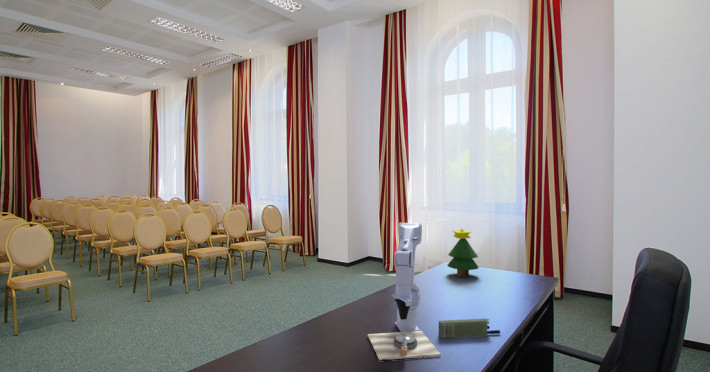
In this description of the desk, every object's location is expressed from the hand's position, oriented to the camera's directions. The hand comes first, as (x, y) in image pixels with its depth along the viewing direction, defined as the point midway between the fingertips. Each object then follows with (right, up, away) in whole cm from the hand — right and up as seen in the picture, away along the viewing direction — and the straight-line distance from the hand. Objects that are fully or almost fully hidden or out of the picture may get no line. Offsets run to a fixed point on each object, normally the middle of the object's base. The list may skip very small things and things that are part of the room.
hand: (403, 318), depth 142 cm
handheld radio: (+27, -10, +7) cm, 30 cm away
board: (-1, -9, -2) cm, 10 cm away
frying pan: (0, -7, -7) cm, 10 cm away
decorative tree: (+50, -7, +97) cm, 110 cm away
